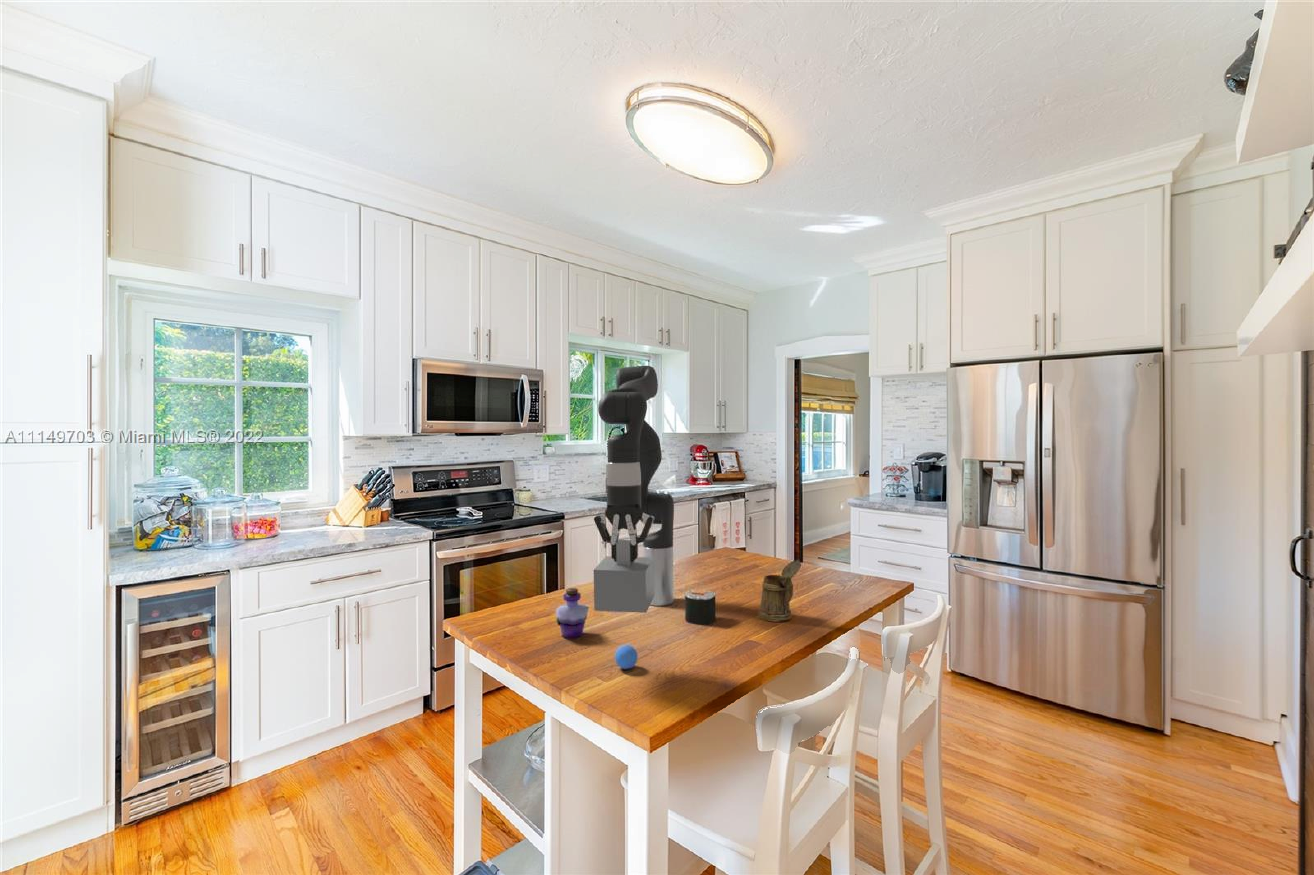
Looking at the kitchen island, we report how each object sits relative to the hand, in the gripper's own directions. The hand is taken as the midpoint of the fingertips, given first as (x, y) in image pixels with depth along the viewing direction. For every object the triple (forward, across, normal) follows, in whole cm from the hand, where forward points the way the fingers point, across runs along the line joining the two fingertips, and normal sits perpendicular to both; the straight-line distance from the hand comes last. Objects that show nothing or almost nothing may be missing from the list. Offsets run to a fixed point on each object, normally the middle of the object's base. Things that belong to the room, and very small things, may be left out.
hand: (624, 560), depth 124 cm
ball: (+22, 0, -1) cm, 22 cm away
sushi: (+24, -14, -35) cm, 45 cm away
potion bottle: (+24, +18, -19) cm, 36 cm away
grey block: (+9, 0, 0) cm, 9 cm away
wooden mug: (+24, -36, -38) cm, 58 cm away
